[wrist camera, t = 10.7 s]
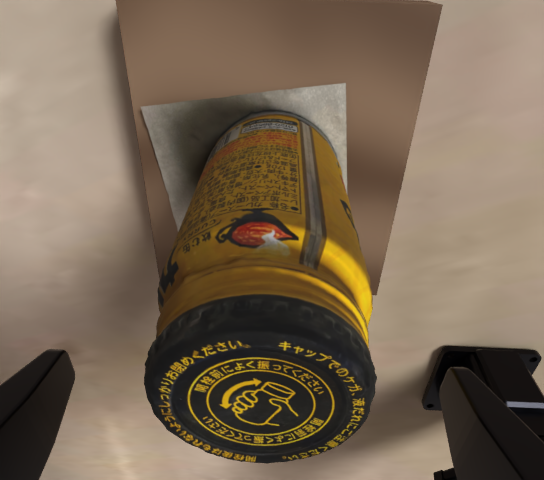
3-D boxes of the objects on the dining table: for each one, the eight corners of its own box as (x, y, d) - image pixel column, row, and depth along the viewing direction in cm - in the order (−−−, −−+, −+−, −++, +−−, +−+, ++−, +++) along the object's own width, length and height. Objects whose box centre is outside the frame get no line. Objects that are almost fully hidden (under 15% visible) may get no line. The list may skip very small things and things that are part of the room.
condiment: (347, 232, 21) (405, 484, 11) (183, 245, 21) (92, 492, 11) (345, 81, 17) (433, 256, 7) (142, 104, 17) (-54, 293, 7)
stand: (370, 272, 24) (376, 295, 23) (169, 263, 24) (160, 285, 23) (426, 1, 17) (442, 4, 15) (131, -11, 17) (114, -8, 15)
